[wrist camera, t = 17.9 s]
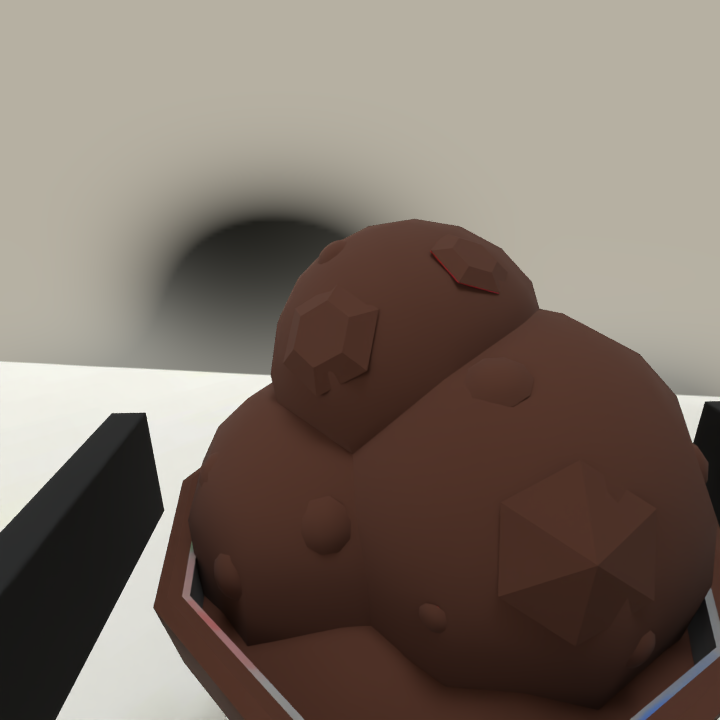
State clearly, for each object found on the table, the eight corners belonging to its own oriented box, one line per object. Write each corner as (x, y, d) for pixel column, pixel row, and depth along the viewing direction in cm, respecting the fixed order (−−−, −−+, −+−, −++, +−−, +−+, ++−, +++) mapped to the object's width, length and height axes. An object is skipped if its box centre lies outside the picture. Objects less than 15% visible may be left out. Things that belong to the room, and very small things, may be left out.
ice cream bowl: (118, 915, 11) (-127, 259, 6) (339, 572, 21) (329, 200, 15) (642, 1355, 7) (1687, 505, 1) (619, 674, 16) (748, 210, 11)
